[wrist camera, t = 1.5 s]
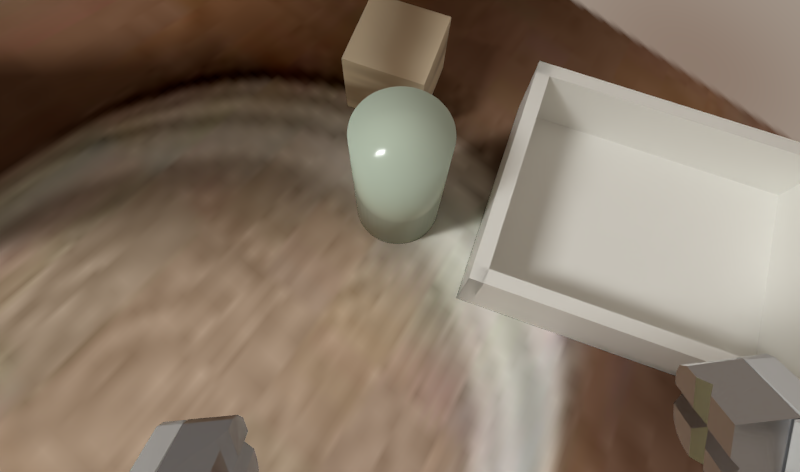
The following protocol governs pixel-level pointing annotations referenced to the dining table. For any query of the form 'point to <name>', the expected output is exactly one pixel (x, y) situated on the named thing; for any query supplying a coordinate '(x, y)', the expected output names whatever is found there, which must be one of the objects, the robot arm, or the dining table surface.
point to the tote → (642, 227)
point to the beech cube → (394, 49)
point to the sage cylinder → (400, 161)
